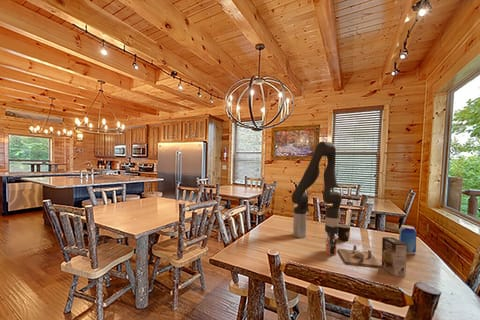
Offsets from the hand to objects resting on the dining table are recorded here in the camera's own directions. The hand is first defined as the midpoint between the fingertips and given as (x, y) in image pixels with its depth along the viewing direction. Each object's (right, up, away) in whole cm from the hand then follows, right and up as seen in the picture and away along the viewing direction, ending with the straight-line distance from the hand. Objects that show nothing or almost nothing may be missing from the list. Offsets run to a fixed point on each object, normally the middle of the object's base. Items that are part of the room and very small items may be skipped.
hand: (331, 251), depth 131 cm
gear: (0, -1, 0) cm, 1 cm away
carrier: (+13, -1, -7) cm, 15 cm away
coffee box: (+24, -1, -20) cm, 31 cm away
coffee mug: (+17, -1, +23) cm, 29 cm away
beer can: (+50, -2, +4) cm, 50 cm away
